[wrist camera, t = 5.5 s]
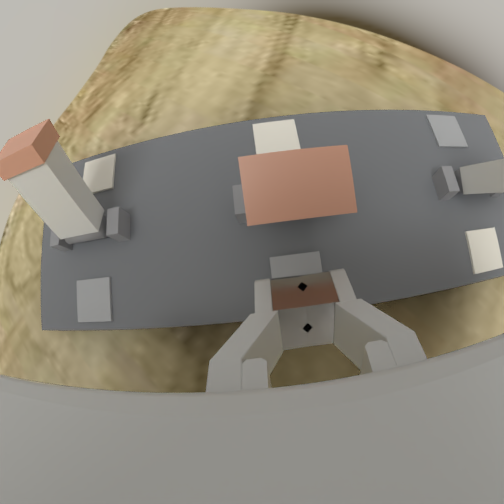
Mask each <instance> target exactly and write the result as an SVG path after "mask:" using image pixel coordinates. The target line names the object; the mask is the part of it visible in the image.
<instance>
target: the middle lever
mask: <svg viewBox="0 0 504 504" xmlns="http://www.w3.org/2000/svg"><path fill="white" fill-rule="evenodd" d="M238 161H239V169H240V176H241V183H242V190H243V198H244V205H245V212H246V219H247V226H252V225H259V224H267V223H275V222H282V221H290V220H298V219H306V218H315V217H323V216H331V215H340V214H349V213H357V205H356V197H355V190H354V183H353V176H352V169H351V163H350V157H349V151H348V145H338V146H326V147H315V148H305V149H295V150H287V151H278V152H270V153H263V154H256V155H249V156H242V157H238Z"/></svg>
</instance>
